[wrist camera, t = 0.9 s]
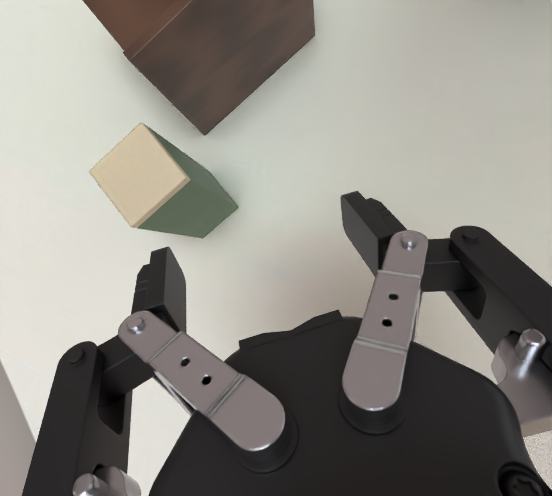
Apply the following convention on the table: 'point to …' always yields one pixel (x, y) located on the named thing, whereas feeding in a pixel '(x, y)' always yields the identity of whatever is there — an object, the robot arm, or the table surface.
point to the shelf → (207, 47)
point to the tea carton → (161, 186)
